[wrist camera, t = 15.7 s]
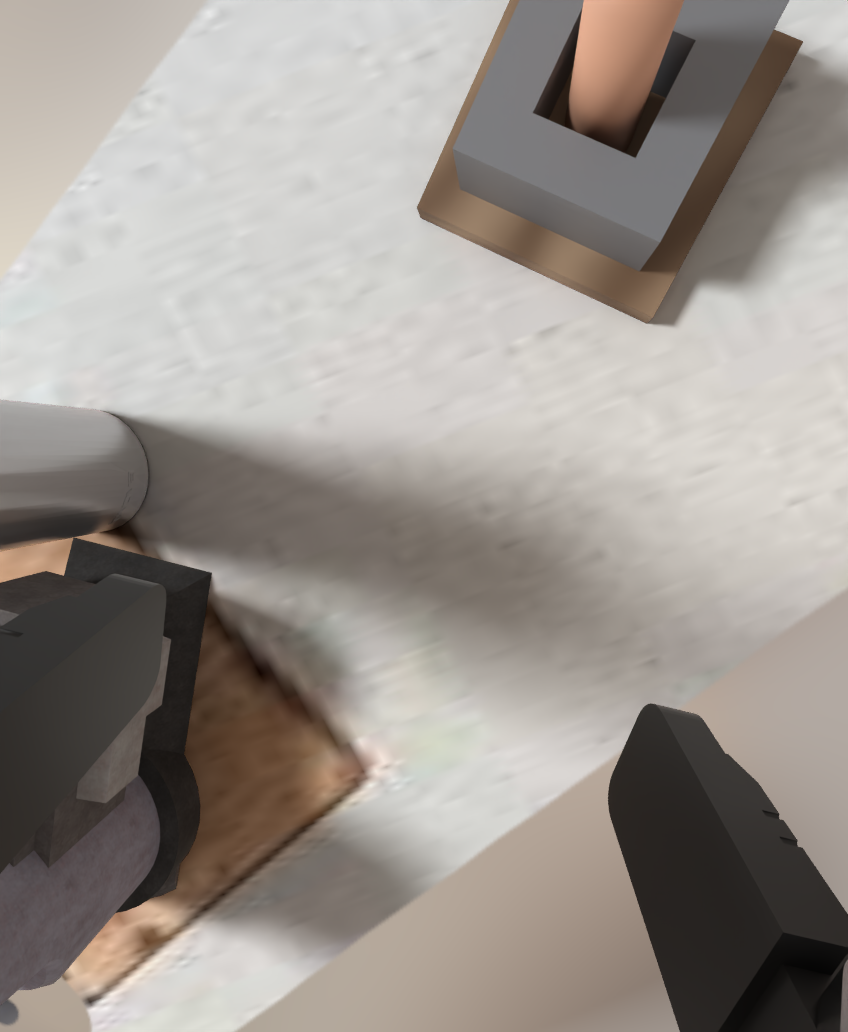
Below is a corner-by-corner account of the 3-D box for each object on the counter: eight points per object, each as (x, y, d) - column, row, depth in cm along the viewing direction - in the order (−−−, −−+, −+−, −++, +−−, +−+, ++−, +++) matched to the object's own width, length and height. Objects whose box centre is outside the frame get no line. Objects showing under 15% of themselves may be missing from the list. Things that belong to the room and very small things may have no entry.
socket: (459, 189, 33) (452, 148, 29) (554, -17, 31) (561, -94, 27) (639, 271, 32) (660, 242, 28) (749, 64, 30) (790, -2, 26)
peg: (551, 152, 32) (570, -2, 21) (583, 83, 31) (620, -112, 21) (613, 178, 32) (664, 35, 21) (647, 109, 31) (718, -76, 20)
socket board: (420, 217, 35) (417, 207, 34) (538, -43, 32) (539, -66, 31) (646, 323, 34) (653, 317, 32) (789, 61, 31) (803, 41, 30)
